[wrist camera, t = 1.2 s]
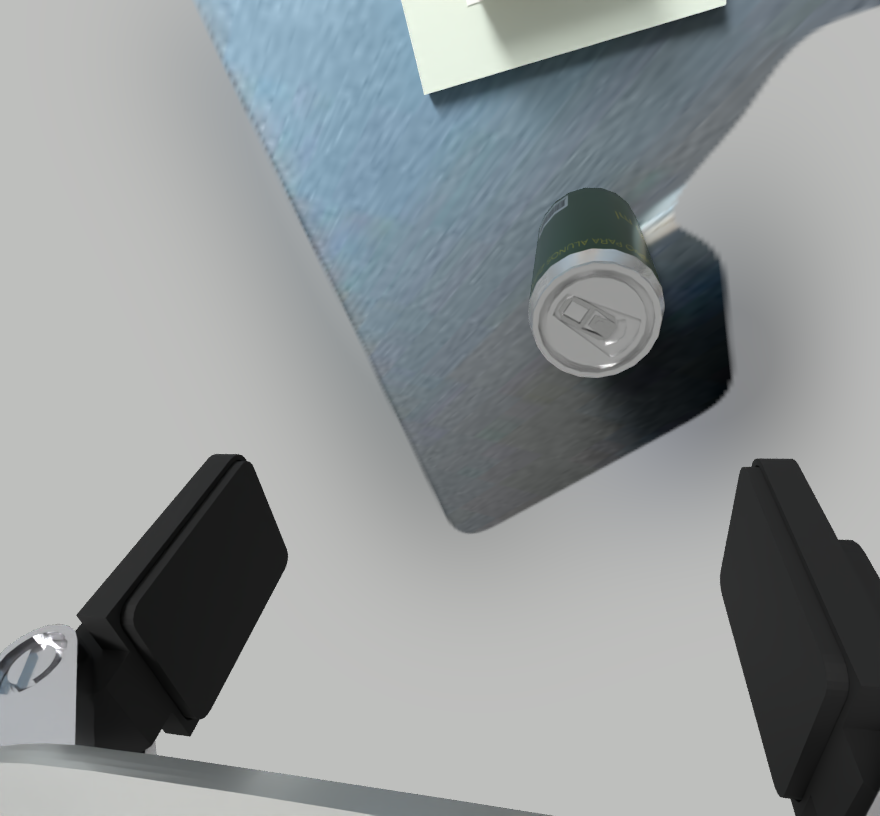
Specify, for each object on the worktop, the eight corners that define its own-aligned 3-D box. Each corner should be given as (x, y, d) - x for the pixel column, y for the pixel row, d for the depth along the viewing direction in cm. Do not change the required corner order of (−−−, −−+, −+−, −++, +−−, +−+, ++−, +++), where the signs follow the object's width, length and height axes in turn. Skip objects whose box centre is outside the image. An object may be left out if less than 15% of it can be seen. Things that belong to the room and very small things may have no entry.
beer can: (521, 252, 33) (502, 345, 23) (571, 165, 30) (574, 230, 20) (599, 295, 34) (613, 403, 24) (657, 214, 30) (699, 300, 21)
